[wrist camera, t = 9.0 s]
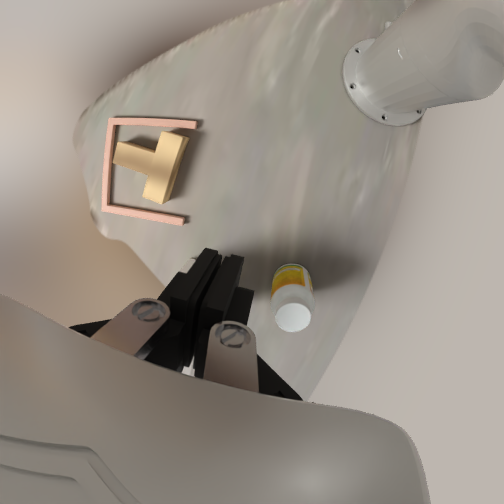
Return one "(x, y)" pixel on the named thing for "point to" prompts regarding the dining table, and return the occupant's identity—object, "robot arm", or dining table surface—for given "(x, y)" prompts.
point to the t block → (154, 163)
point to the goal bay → (108, 165)
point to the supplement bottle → (292, 297)
